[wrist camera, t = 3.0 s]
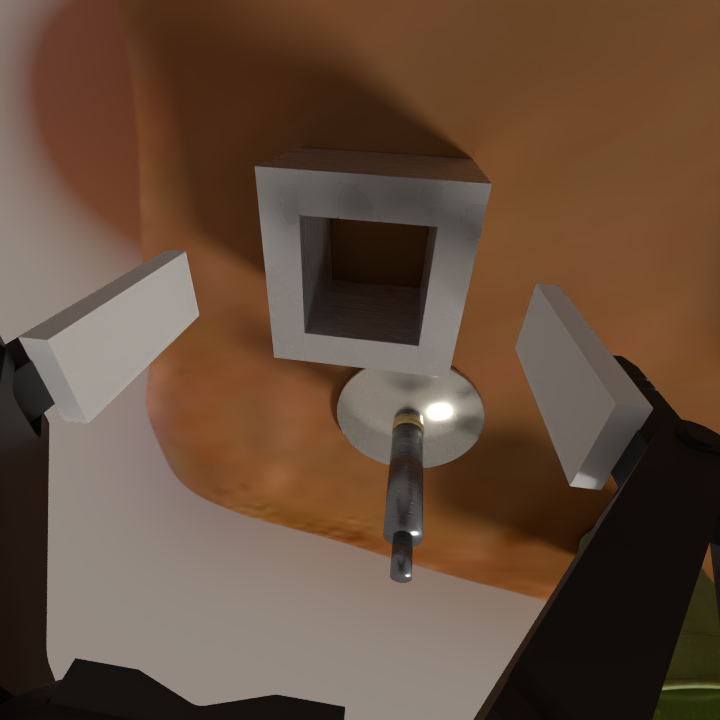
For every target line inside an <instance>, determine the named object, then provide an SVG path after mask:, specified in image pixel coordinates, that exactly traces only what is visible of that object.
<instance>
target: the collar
mask: <svg viewBox="0 0 720 720" xmlns="http://www.w3.org/2000/svg"><path fill="white" fill-rule="evenodd" d="M255 176H256V185H257V195H258V205H259V214H260V224H261V234H262V244H263V253H264V263H265V273H266V282H267V292H268V302H269V311H270V321H271V331H272V340H273V350H274V357H275V358H284V359H292V360H301V361H309V362H317V363H326V364H334V365H343V366H351V367H360V368H368V369H376V370H385V371H393V372H402V373H410V374H419V375H427V376H435V377H444V378H448V376H449V371H450V367H451V363H452V358H453V354H454V349H455V345H456V340H457V336H458V332H459V327H460V323H461V318H462V314H463V309H464V305H465V301H466V296H467V292H468V287H469V283H470V278H471V274H472V270H473V265H474V261H475V256H476V252H477V247H478V243H479V239H480V234H481V230H482V225H483V221H484V216H485V212H486V208H487V203H488V199H489V194H490V190H491V185H492V183H491V182H490V181H489V180H488V178H487V177H486V176H485V174H484V173H483V172H482V170H481V169H480V168H479V167H478V165H477V164H476V163H475V161H474V160H473V159H465V158H450V157H436V156H421V155H407V154H392V153H378V152H363V151H348V150H334V149H319V148H305V147H300V148H298V149H295V150H293V151H290V152H288V153H286V154H283V155H281V156H278V157H276V158H273V159H271V160H269V161H266V162H264V163H261V164H259V165H257V166H255ZM332 218H339V219H351V220H362V221H374V222H386V223H398V224H410V225H421V226H429V231H428V238H427V244H426V251H425V258H424V265H423V272H422V279H421V285H420V288H412V287H402V286H392V285H382V284H372V283H362V282H352V281H341V280H332Z"/></svg>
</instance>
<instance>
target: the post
mask: <svg viewBox="0 0 720 720" xmlns="http://www.w3.org/2000/svg"><path fill="white" fill-rule="evenodd" d="M337 418H338V422H339V425H340V428H341V430H342V432H343V434H344V435H345V437H346V438H347V439H348V441H349V442H350V443H351V444H352V445H353V446H354V447H355V448H356V449H358V450H359V451H360V452H361V453H363V454H365V455H366V456H368V457H370V458H372V459H374V460H376V461H378V462H381V463H384V464H387V465H390V466H389V477H388V487H387V498H386V509H385V519H384V530H383V536H384V538H385V540H386V541H387V542H389V543H390V544H392V556H391V571H390V577H391V579H392V580H394V581H396V582H400V583H406V582H409V581H411V579H412V551H413V547H414V546H417V545H419V544H420V543H421V542H422V540H423V468H428V467H434V466H438V465H442V464H445V463H448V462H450V461H452V460H454V459H456V458H458V457H460V456H461V455H463V454H464V453H466V452H467V451H468V450H469V449H470V448H471V447H472V446H473V445H474V444H475V443H476V441H477V440H478V438H479V436H480V434H481V432H482V429H483V425H484V409H483V403H482V400H481V397H480V394H479V393H478V391H477V389H476V387H475V386H474V385H473V383H472V382H471V381H470V380H469V379H468V378H467V377H466V376H465V375H464V374H462V373H461V372H460V371H458V370H457V369H455V368H453V367H452V366H451V367H450V371H449V376H448V378H444V377H435V376H427V375H419V374H410V373H402V372H393V371H385V370H376V369H368V368H361V369H359V370H358V371H357V372H355V373H354V374H353V375H352V376H351V377H350V378H349V379H348V381H347V382H346V384H345V385H344V387H343V389H342V391H341V394H340V397H339V401H338V405H337Z"/></svg>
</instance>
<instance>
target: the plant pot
mask: <svg viewBox="0 0 720 720" xmlns="http://www.w3.org/2000/svg"><path fill="white" fill-rule="evenodd" d="M591 531H592V530H591ZM591 531H589V532H588V533H586V534H585V535H584V536H583V537H582V538H581V540H580V542H579V548H578V552H579V550H580V548H581V547H582V545H583V543H584V542H585V540H586V539H587V537H588V535H589V534H590V532H591ZM652 720H720V625H719V616H718V608H717V599H716V591H715V584H714V583H713V581H712V580H711V579H710V577H709V576H708V575H707V574H706V572H705V571H704V570H703V569H702V567H701V570H700V573H699V576H698V579H697V582H696V586H695V589H694V592H693V595H692V598H691V601H690V604H689V607H688V610H687V613H686V617H685V620H684V623H683V626H682V629H681V632H680V635H679V638H678V641H677V644H676V648H675V651H674V654H673V657H672V660H671V663H670V666H669V669H668V672H667V675H666V679H665V682H664V685H663V688H662V691H661V694H660V697H659V700H658V703H657V706H656V710H655V713H654V716H653V719H652Z"/></svg>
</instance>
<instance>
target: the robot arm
mask: <svg viewBox="0 0 720 720" xmlns="http://www.w3.org/2000/svg"><path fill="white" fill-rule="evenodd" d="M198 316H199V311H198V307H197V302H196V298H195V293H194V288H193V284H192V279H191V274H190V270H189V265H188V260H187V256H186V252H184V251H173V250H166V251H164V252H162V253H160V254H159V255H157V256H155V257H154V258H152V259H150V260H149V261H147V262H145V263H143V264H142V265H140V266H138V267H137V268H135V269H133V270H132V271H130V272H128V273H126V274H125V275H123V276H121V277H120V278H118V279H116V280H114V281H113V282H111V283H109V284H107V285H106V286H104V287H103V288H101V289H99V290H97V291H96V292H94V293H92V294H90V295H89V296H87V297H85V298H84V299H82V300H80V301H78V302H77V303H75V304H73V305H72V306H70V307H68V308H66V309H65V310H63V311H61V312H60V313H58V314H56V315H55V316H53V317H51V318H49V319H48V320H46V321H44V322H43V323H41V324H39V325H37V326H36V327H34V328H32V329H31V330H29V331H27V332H26V333H24V334H22V335H20V336H19V337H18V338H16V339H14V340H12V341H11V342H9V343H7V344H6V345H5V344H4V342H3V340H2V338H1V337H0V720H344V714H345V707H342V706H337V705H331V704H326V703H320V702H315V701H309V700H303V699H298V698H292V697H286V696H281V695H270V696H264V697H258V698H251V699H245V700H239V701H232V702H226V703H220V704H213V705H208V706H197V705H194V704H192V703H190V702H188V701H187V700H185V699H184V698H182V697H181V696H179V695H177V694H176V693H174V692H173V691H171V690H170V689H168V688H167V687H165V686H163V685H162V684H160V683H159V682H157V681H155V680H154V679H152V678H151V677H149V676H148V675H146V674H144V673H143V672H141V671H140V670H137V669H132V668H126V667H121V666H115V665H109V664H104V663H98V662H93V661H87V660H82V659H76V658H75V660H74V661H73V663H72V665H71V666H70V668H69V669H68V671H67V673H66V674H65V676H64V678H63V679H62V680H58V681H55V679H54V676H53V673H52V671H51V668H50V666H49V663H48V658H47V650H46V631H47V630H46V629H47V628H46V626H47V552H48V549H47V548H48V546H47V545H48V473H49V470H48V469H49V466H48V465H49V422H48V420H47V418H46V416H45V414H44V412H45V411H47V410H48V409H49V408H50V407H51V406H52V405H55V407H56V409H57V411H58V412H59V414H60V416H61V418H62V420H64V421H71V422H78V423H86V424H88V423H89V422H91V420H93V419H94V418H95V416H97V415H98V413H100V412H101V411H102V410H103V409H104V408H105V407H106V406H107V405H108V404H109V403H110V402H111V401H112V400H113V399H114V398H115V397H116V396H117V395H118V394H119V393H120V392H121V391H122V390H123V389H124V388H125V387H126V386H127V385H129V384H130V383H131V382H132V381H133V380H134V379H135V378H136V377H137V376H138V375H139V374H140V373H141V372H142V371H143V370H144V369H145V368H146V367H147V366H148V365H149V364H150V363H151V362H152V361H153V360H154V359H155V358H156V357H157V356H158V355H159V354H160V353H161V352H162V351H163V350H164V349H165V348H167V347H168V346H169V345H170V344H171V343H172V342H173V341H174V340H175V339H176V338H177V337H178V336H179V335H180V334H181V333H182V332H183V331H184V330H185V329H186V328H187V327H188V326H189V325H190V324H191V323H192V322H193V321H194V320H195V319H196V318H197V317H198ZM515 350H516V352H517V355H518V357H519V360H520V362H521V365H522V367H523V370H524V372H525V375H526V377H527V380H528V382H529V385H530V387H531V390H532V392H533V395H534V397H535V400H536V402H537V405H538V407H539V410H540V412H541V415H542V417H543V420H544V422H545V425H546V427H547V430H548V432H549V435H550V438H551V440H552V443H553V445H554V448H555V450H556V453H557V455H558V458H559V460H560V463H561V465H562V468H563V470H564V473H565V475H566V478H567V480H568V483H569V485H570V486H573V487H580V488H588V489H596V490H602V488H603V486H604V485H605V483H606V482H607V480H608V479H609V477H610V476H611V474H612V476H613V478H614V480H615V482H616V484H617V485H618V487H619V488H618V490H617V491H616V493H615V494H614V496H613V497H612V499H611V500H610V501H609V503H608V504H607V506H606V507H605V509H604V510H603V512H602V513H601V516H600V518H599V519H598V521H597V523H596V524H595V526H594V527H593V529H592V531H591V532H590V534H589V535H588V537H587V539H586V540H585V542H584V543H583V545H582V547H581V548H580V550H579V552H578V553H577V555H576V556H575V558H574V560H573V561H572V563H571V564H570V566H569V568H568V569H567V571H566V572H565V574H564V576H563V577H562V579H561V580H560V582H559V584H558V585H557V587H556V588H555V590H554V592H553V593H552V595H551V596H550V598H549V600H548V601H547V603H546V605H545V606H544V608H543V609H542V611H541V612H540V614H539V616H538V617H537V619H536V620H535V622H534V624H533V625H532V627H531V629H530V630H529V632H528V633H527V635H526V637H525V638H524V640H523V641H522V643H521V644H520V646H519V648H518V649H517V651H516V652H515V654H514V656H513V657H512V659H511V660H510V662H509V664H508V665H507V667H506V668H505V670H504V672H503V673H502V675H501V677H500V678H499V680H498V681H497V683H496V684H495V686H494V688H493V689H492V691H491V693H490V694H489V696H488V697H487V699H486V700H485V702H484V704H483V705H482V707H481V709H480V710H479V712H478V713H477V715H476V717H475V718H474V720H652V719H653V716H654V713H655V710H656V706H657V703H658V700H659V697H660V694H661V691H662V688H663V685H664V682H665V679H666V675H667V672H668V669H669V666H670V663H671V660H672V657H673V654H674V651H675V648H676V644H677V641H678V638H679V635H680V632H681V629H682V626H683V623H684V620H685V617H686V613H687V610H688V607H689V604H690V601H691V598H692V595H693V592H694V589H695V586H696V582H697V579H698V576H699V573H700V570H701V567H702V564H703V561H704V558H705V555H706V551H707V548H708V545H709V542H710V548H711V557H712V565H713V574H714V582H715V591H716V599H717V608H718V616H719V625H720V435H719V434H718V433H716V432H714V431H712V430H710V429H708V428H707V427H705V426H702V425H699V424H697V423H694V422H691V421H686V420H681V418H680V417H679V416H678V415H677V414H676V412H675V411H674V410H673V409H672V408H671V406H670V405H669V404H668V403H667V402H666V400H665V399H664V398H663V397H662V396H661V394H660V393H659V392H658V391H655V387H654V386H653V385H652V384H651V382H650V381H647V378H646V376H645V375H644V374H643V373H642V372H641V371H640V369H639V368H638V367H637V366H635V365H634V364H632V363H631V362H629V361H628V360H627V359H625V358H624V357H622V356H614V355H612V354H611V353H610V352H609V350H608V349H607V348H606V346H605V345H604V344H603V342H602V341H601V340H600V339H599V337H598V336H597V335H596V333H595V332H594V331H593V330H592V328H591V327H590V326H589V324H588V323H587V322H586V321H585V319H584V318H583V317H582V315H581V314H580V313H579V311H578V310H577V309H576V308H575V306H574V305H573V304H572V302H571V301H570V300H569V299H568V297H567V296H566V295H565V293H564V292H563V291H562V290H561V288H560V287H559V286H558V285H548V284H537V283H536V286H535V289H534V292H533V295H532V298H531V301H530V304H529V307H528V310H527V313H526V316H525V319H524V322H523V325H522V328H521V331H520V334H519V337H518V341H517V344H516V347H515Z"/></svg>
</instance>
